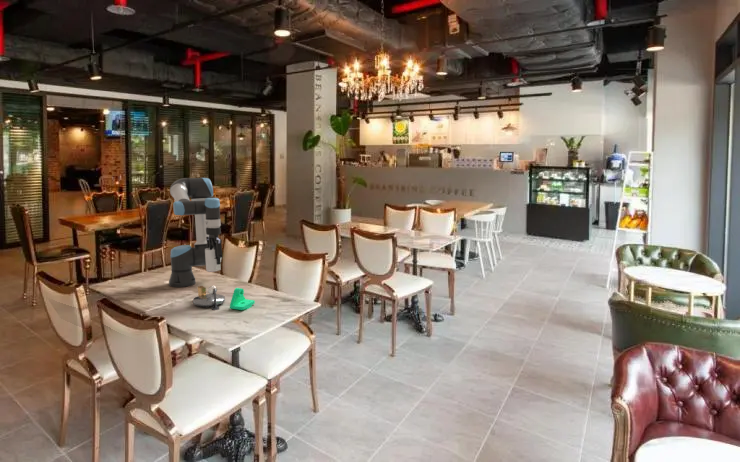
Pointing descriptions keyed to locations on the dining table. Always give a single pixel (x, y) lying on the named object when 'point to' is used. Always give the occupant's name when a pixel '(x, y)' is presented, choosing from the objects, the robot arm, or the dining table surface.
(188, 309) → the dining table surface
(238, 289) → the camera mount
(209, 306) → the turntable base
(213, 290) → the gauge post
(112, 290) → the dining table surface
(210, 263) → the mug
